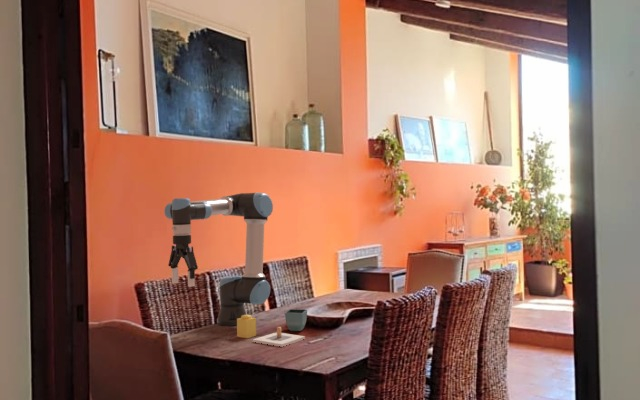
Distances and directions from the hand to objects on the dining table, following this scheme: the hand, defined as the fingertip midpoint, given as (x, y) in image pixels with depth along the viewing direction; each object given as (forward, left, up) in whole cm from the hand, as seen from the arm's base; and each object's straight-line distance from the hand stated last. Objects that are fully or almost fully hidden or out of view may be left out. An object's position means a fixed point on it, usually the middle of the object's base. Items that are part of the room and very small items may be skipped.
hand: (183, 284), depth 247 cm
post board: (-28, +29, -26) cm, 48 cm away
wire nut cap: (-27, +11, -26) cm, 39 cm away
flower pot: (-48, +23, -26) cm, 59 cm away
